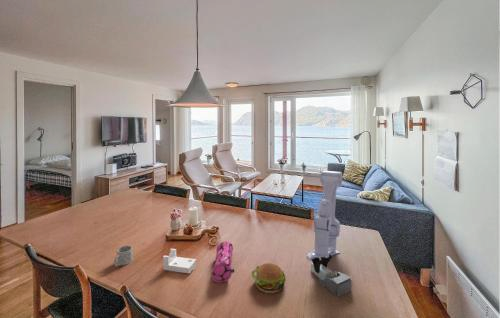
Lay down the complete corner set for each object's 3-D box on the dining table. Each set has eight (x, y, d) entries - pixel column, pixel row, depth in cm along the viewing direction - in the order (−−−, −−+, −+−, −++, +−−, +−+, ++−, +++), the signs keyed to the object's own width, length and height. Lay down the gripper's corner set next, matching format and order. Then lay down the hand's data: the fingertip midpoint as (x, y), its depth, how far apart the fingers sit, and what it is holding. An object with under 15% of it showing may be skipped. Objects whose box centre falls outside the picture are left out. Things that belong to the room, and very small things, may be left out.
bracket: (163, 271, 108) (162, 256, 107) (172, 262, 115) (171, 248, 114) (189, 275, 105) (188, 260, 104) (196, 266, 112) (195, 251, 111)
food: (252, 273, 106) (252, 257, 104) (283, 274, 105) (283, 258, 104) (251, 295, 92) (251, 277, 91) (286, 296, 92) (287, 278, 90)
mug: (124, 257, 120) (123, 244, 119) (136, 258, 118) (135, 246, 117) (109, 268, 110) (108, 255, 109) (121, 270, 109) (120, 257, 108)
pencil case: (234, 283, 99) (234, 261, 98) (211, 284, 99) (211, 263, 97) (234, 255, 121) (233, 237, 119) (215, 256, 120) (214, 238, 118)
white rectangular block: (310, 271, 107) (311, 263, 107) (316, 268, 109) (316, 260, 108) (325, 282, 100) (325, 274, 99) (331, 280, 101) (331, 271, 101)
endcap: (317, 283, 99) (318, 271, 98) (334, 276, 104) (335, 265, 103) (335, 298, 91) (336, 285, 90) (353, 289, 95) (353, 277, 94)
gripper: (315, 250, 96) (314, 280, 98) (340, 242, 102) (338, 270, 104) (304, 243, 102) (303, 271, 104) (328, 235, 108) (327, 262, 110)
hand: (320, 270), depth 104 cm, fingers closed on white rectangular block, 3 cm apart
